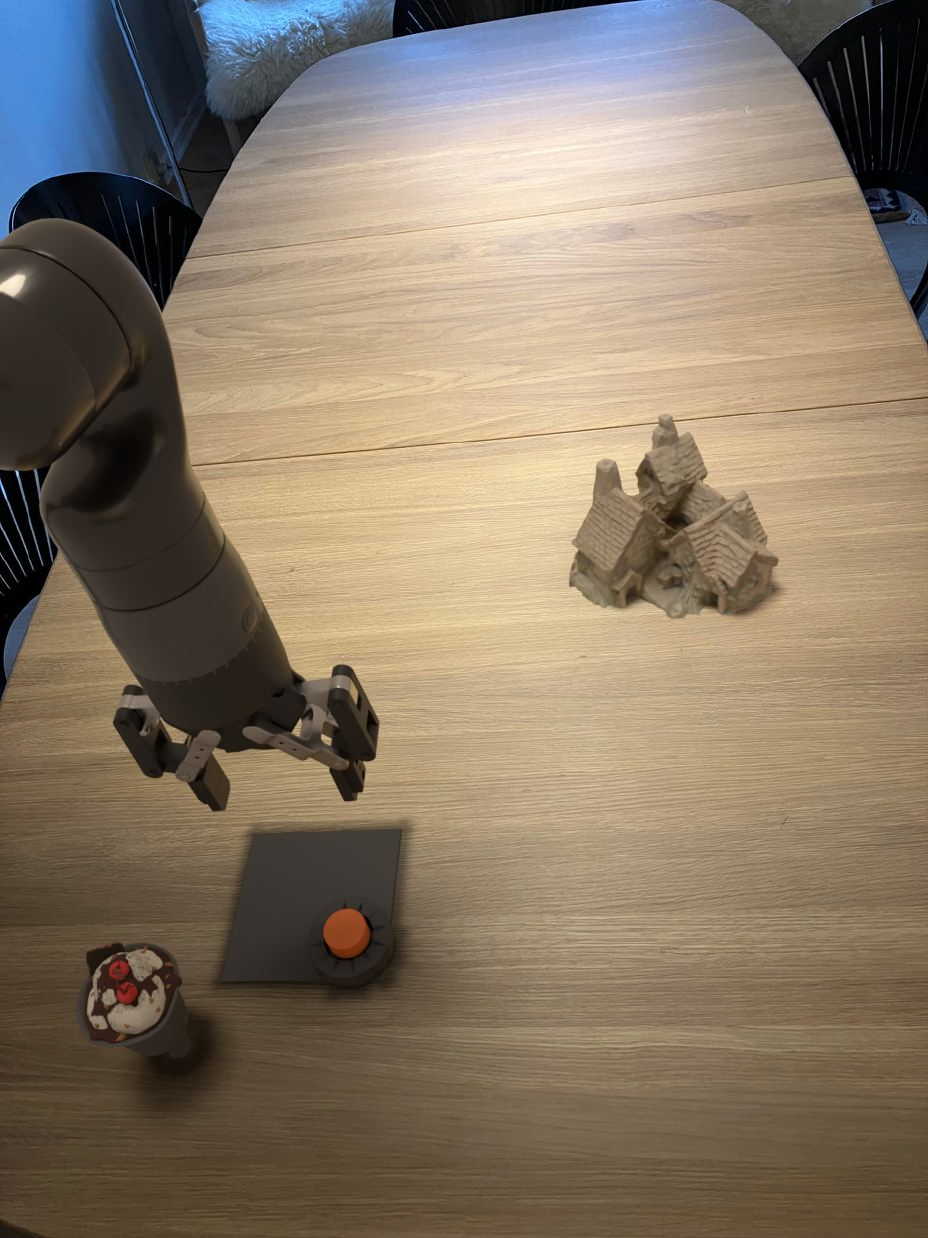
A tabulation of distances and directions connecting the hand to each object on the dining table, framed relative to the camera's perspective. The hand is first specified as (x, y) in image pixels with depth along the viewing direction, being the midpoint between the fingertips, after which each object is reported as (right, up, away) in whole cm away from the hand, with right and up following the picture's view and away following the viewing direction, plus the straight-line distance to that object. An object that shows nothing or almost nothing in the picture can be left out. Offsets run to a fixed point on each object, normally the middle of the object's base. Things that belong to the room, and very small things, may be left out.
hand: (287, 794), depth 65 cm
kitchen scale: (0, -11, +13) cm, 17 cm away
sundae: (-8, -19, +7) cm, 22 cm away
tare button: (+3, -12, +8) cm, 14 cm away
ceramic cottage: (+30, +14, +30) cm, 44 cm away
